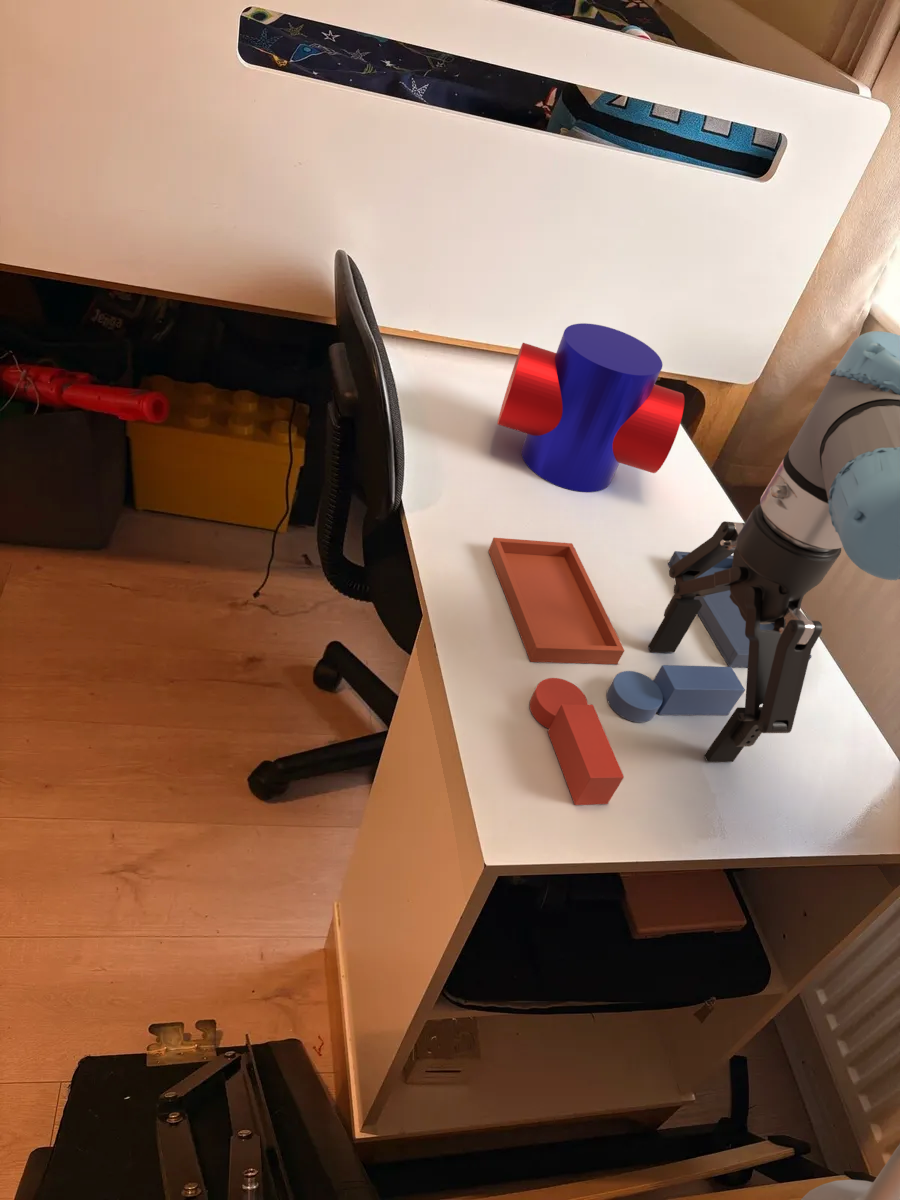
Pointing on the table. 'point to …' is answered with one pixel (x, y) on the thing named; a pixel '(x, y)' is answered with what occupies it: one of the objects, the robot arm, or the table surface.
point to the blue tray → (724, 618)
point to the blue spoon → (675, 692)
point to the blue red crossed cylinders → (591, 407)
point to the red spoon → (577, 741)
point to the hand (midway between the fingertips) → (688, 701)
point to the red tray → (554, 603)
